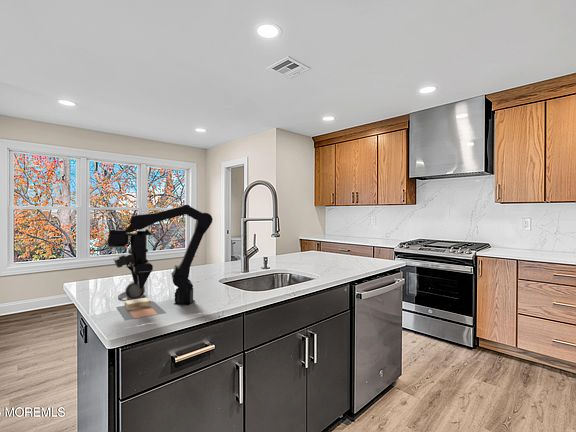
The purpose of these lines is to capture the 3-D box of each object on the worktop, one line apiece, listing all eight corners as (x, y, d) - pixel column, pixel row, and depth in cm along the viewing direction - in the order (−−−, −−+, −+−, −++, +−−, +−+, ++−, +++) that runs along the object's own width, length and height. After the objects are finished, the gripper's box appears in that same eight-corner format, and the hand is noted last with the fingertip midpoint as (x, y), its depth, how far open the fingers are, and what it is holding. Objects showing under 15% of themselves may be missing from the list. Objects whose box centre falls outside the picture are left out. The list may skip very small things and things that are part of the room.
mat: (153, 302, 131) (153, 300, 131) (166, 313, 117) (166, 312, 117) (115, 307, 123) (115, 306, 123) (125, 321, 109) (125, 320, 109)
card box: (147, 303, 128) (147, 297, 128) (151, 306, 124) (151, 300, 124) (124, 306, 123) (124, 300, 123) (127, 310, 119) (127, 304, 119)
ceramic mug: (144, 294, 143) (144, 277, 142) (144, 299, 135) (144, 281, 135) (118, 297, 138) (118, 280, 138) (117, 302, 131) (116, 284, 130)
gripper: (111, 245, 126) (111, 284, 126) (120, 250, 111) (119, 294, 111) (141, 243, 132) (141, 280, 133) (153, 248, 118) (153, 290, 118)
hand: (138, 286), depth 124 cm, fingers open, 9 cm apart
